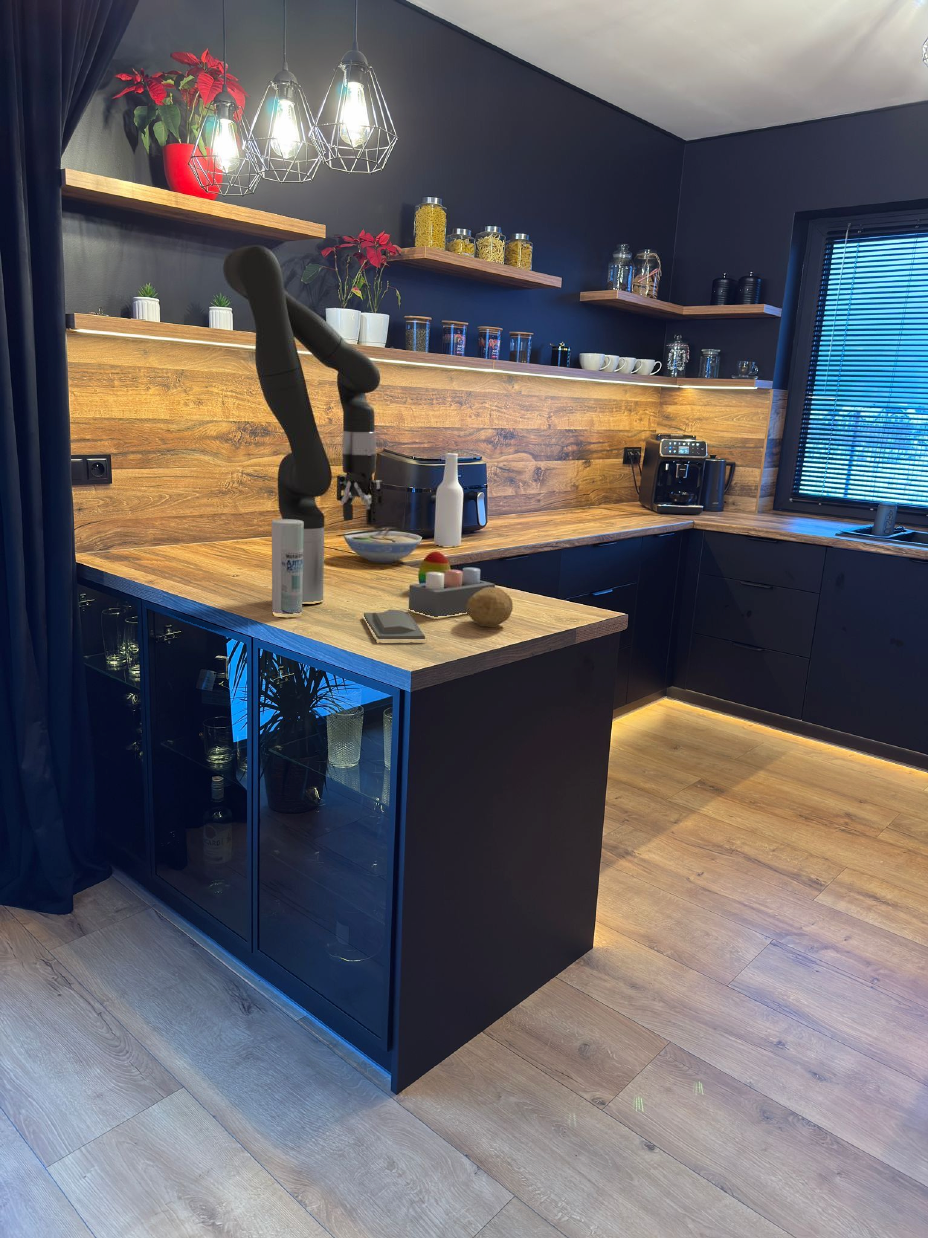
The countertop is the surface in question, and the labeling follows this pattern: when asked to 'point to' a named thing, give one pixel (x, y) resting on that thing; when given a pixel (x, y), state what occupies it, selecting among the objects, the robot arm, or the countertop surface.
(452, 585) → the brown egg
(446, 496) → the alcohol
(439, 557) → the decorative egg
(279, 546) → the spray can
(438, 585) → the white egg
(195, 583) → the countertop surface
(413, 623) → the soap mold
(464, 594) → the grey rectangular block
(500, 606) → the potato
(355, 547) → the ramen bowl
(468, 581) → the blue grey egg
